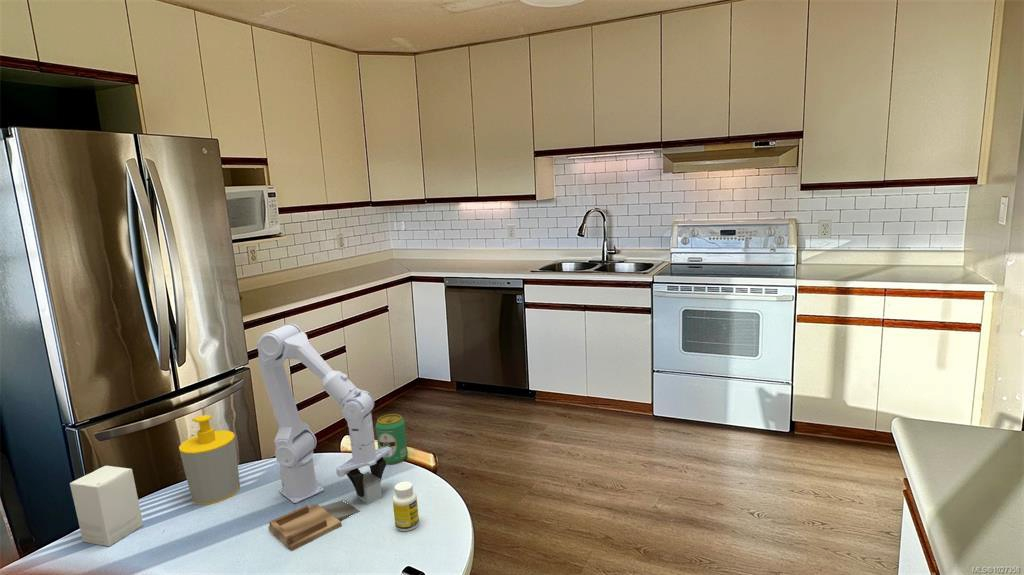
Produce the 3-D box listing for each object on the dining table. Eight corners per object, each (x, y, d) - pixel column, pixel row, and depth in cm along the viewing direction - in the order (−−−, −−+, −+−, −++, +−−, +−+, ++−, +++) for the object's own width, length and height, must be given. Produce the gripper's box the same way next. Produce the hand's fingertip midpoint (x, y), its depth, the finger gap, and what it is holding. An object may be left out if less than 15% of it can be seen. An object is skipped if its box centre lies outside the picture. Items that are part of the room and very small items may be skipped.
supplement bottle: (414, 532, 129) (410, 492, 127) (391, 531, 130) (387, 491, 129) (422, 518, 134) (418, 480, 133) (400, 517, 136) (396, 479, 134)
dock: (269, 532, 134) (267, 520, 134) (339, 499, 147) (338, 488, 146) (292, 553, 126) (290, 540, 125) (364, 516, 138) (363, 504, 138)
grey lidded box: (355, 496, 146) (353, 478, 145) (370, 489, 149) (368, 471, 148) (368, 504, 142) (365, 485, 141) (382, 497, 145) (380, 478, 144)
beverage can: (375, 464, 163) (370, 424, 161) (385, 451, 170) (381, 413, 168) (402, 465, 161) (397, 424, 159) (411, 451, 169) (407, 413, 167)
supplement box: (145, 525, 140) (133, 467, 137) (109, 547, 132) (96, 487, 129) (118, 520, 143) (106, 464, 140) (81, 542, 135) (68, 482, 132)
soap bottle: (218, 477, 161) (205, 405, 158) (254, 483, 157) (242, 409, 153) (176, 502, 150) (162, 425, 146) (213, 509, 145) (200, 430, 141)
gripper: (344, 456, 135) (351, 509, 138) (396, 435, 145) (401, 484, 148) (329, 448, 140) (336, 499, 143) (381, 428, 150) (386, 476, 153)
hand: (368, 491), depth 145 cm, fingers closed on grey lidded box, 4 cm apart
